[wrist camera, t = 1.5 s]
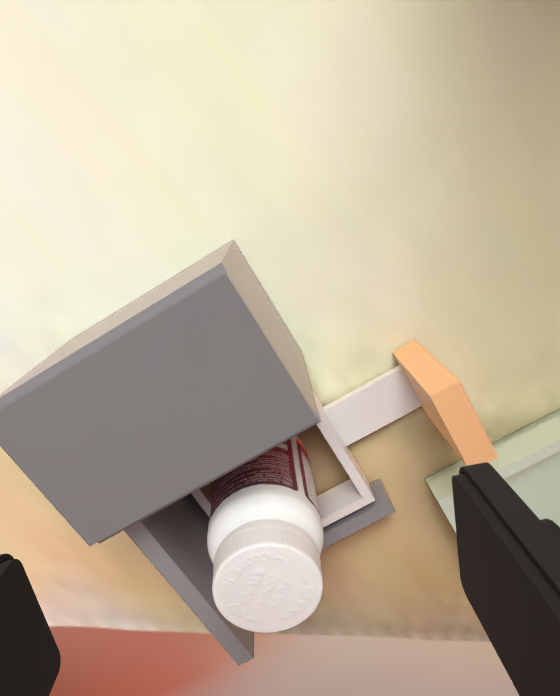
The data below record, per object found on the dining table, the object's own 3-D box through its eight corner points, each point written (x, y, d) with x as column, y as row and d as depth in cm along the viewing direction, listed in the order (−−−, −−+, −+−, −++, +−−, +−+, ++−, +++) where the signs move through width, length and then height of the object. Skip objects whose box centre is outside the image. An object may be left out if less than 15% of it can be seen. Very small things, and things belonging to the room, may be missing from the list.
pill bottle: (199, 463, 33) (170, 597, 22) (260, 401, 31) (262, 510, 21) (266, 514, 34) (270, 663, 23) (327, 457, 33) (361, 585, 22)
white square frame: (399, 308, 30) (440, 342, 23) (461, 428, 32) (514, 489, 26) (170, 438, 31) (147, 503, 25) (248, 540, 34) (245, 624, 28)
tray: (579, 398, 32) (606, 415, 30) (631, 521, 36) (659, 546, 33) (424, 478, 34) (437, 501, 31) (488, 589, 37) (504, 618, 34)
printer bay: (233, 239, 28) (220, 264, 18) (385, 489, 34) (440, 614, 24) (70, 339, 29) (-27, 415, 19) (242, 563, 35) (236, 711, 25)
